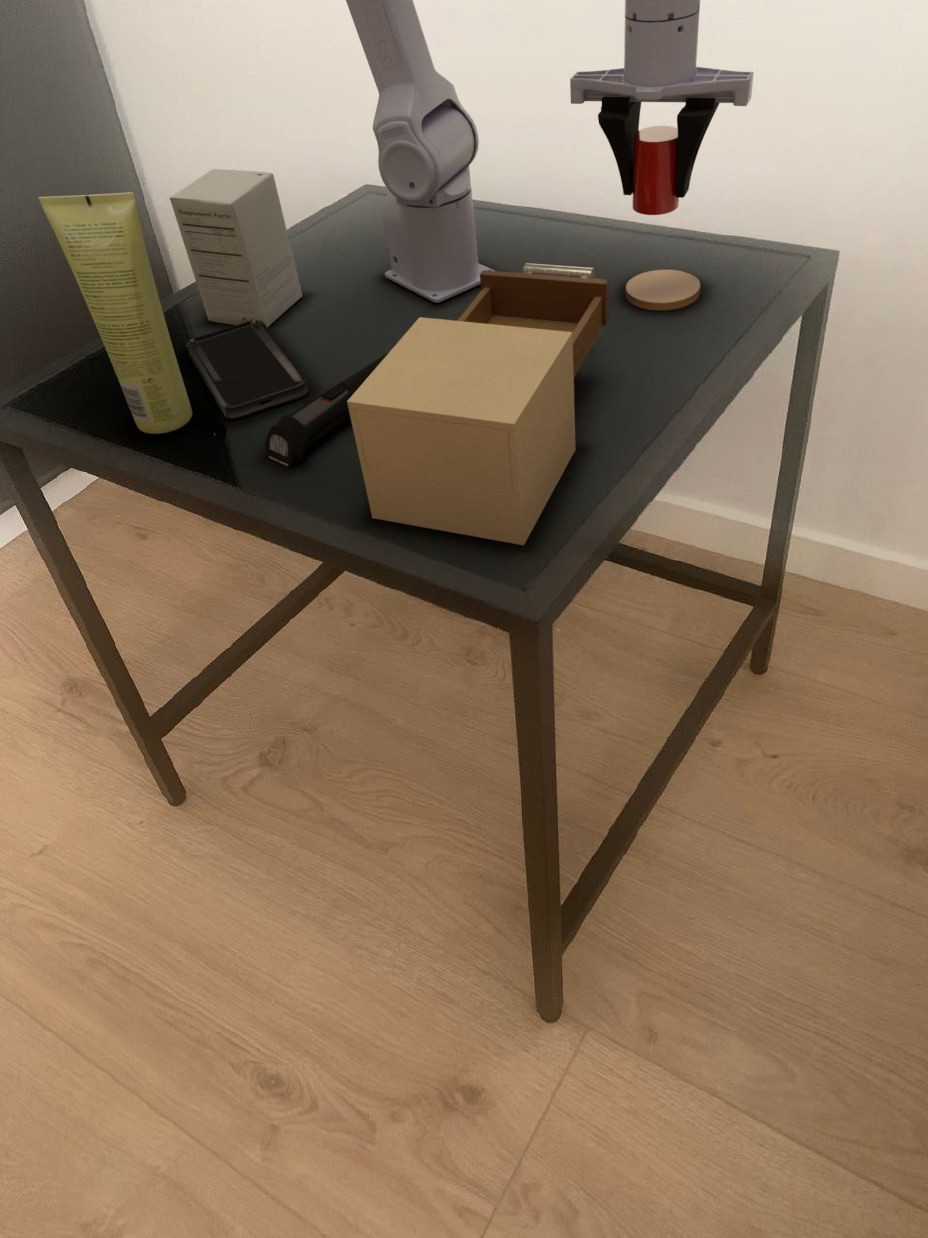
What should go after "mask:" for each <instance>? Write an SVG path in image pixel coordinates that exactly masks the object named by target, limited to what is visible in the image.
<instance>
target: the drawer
mask: <svg viewBox="0 0 928 1238" xmlns="http://www.w3.org/2000/svg"><path fill="white" fill-rule="evenodd" d="M480 282H481V284H480V292H479V293H478V294H477V295H476V296H475V298H474V299H473V301H472V302H471V303H470V304H469V305H468V307H467V308H466V309H465V310H464V312H463V313H462V314H461V315H460V317H458V319H457V320H456V321H463V322H473V323H484V324H494V325H504V326H514V327H524V328H535V329H545V330H555V331H565V332H572V340H573V375H574V378H575V377H576V375H577V374H578V372H579V370H580V369H581V367H582V365H583V363H584V362H585V360H586V358H587V357H588V355H589V353H590V351H591V350H592V349H593V346H594V345H595V343H596V341H597V340H598V338H599V336H600V335H601V333H602V331H603V326H604V327H606V326H607V324H608V323H609V279H602V278H596V269H595V268H594V267H584V266H569V265H557V264H554V265H553V264H543V263H530V262H529V263H528V262H526V263H524V266H523V268H522V272H514V271H513V272H511V271H499V270H495V271H487V270H483V271H482V272H481V273H480Z"/></svg>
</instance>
